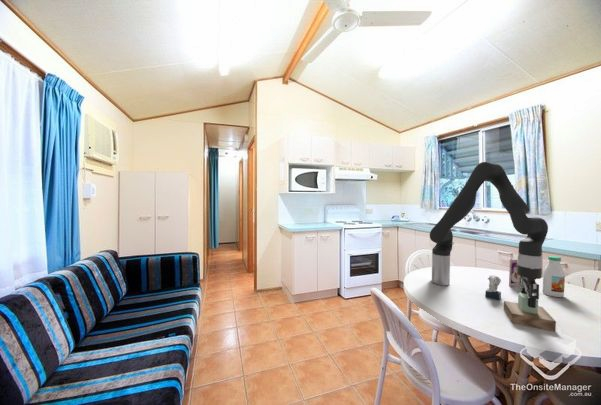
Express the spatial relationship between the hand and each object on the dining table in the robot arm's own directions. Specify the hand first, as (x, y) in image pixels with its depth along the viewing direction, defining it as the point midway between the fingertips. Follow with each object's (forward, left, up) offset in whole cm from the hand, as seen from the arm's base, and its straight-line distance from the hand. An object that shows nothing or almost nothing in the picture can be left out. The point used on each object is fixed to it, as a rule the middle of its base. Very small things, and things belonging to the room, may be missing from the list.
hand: (527, 302), depth 102 cm
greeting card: (+6, +48, -7) cm, 49 cm away
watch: (-8, +20, -7) cm, 23 cm away
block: (0, 0, -3) cm, 3 cm away
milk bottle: (+20, +38, -7) cm, 44 cm away
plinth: (0, 0, -7) cm, 7 cm away
